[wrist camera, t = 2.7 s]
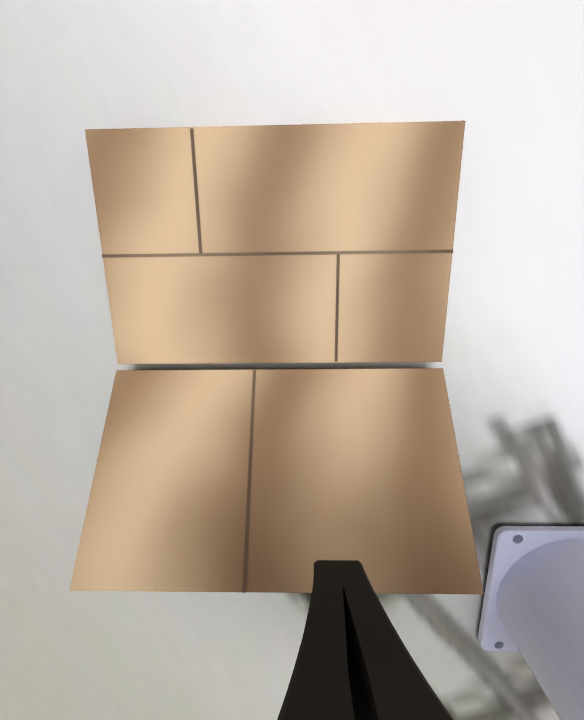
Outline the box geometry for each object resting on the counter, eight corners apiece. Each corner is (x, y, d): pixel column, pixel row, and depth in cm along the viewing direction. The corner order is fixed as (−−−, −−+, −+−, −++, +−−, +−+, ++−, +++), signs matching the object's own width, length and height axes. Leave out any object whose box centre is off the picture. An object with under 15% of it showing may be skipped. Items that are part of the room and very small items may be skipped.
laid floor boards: (450, 135, 13) (465, 120, 12) (430, 355, 15) (442, 362, 14) (103, 143, 13) (84, 128, 12) (131, 357, 15) (117, 364, 14)
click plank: (432, 377, 15) (443, 368, 14) (466, 584, 12) (484, 594, 11) (130, 379, 15) (116, 370, 14) (90, 581, 12) (68, 591, 11)
